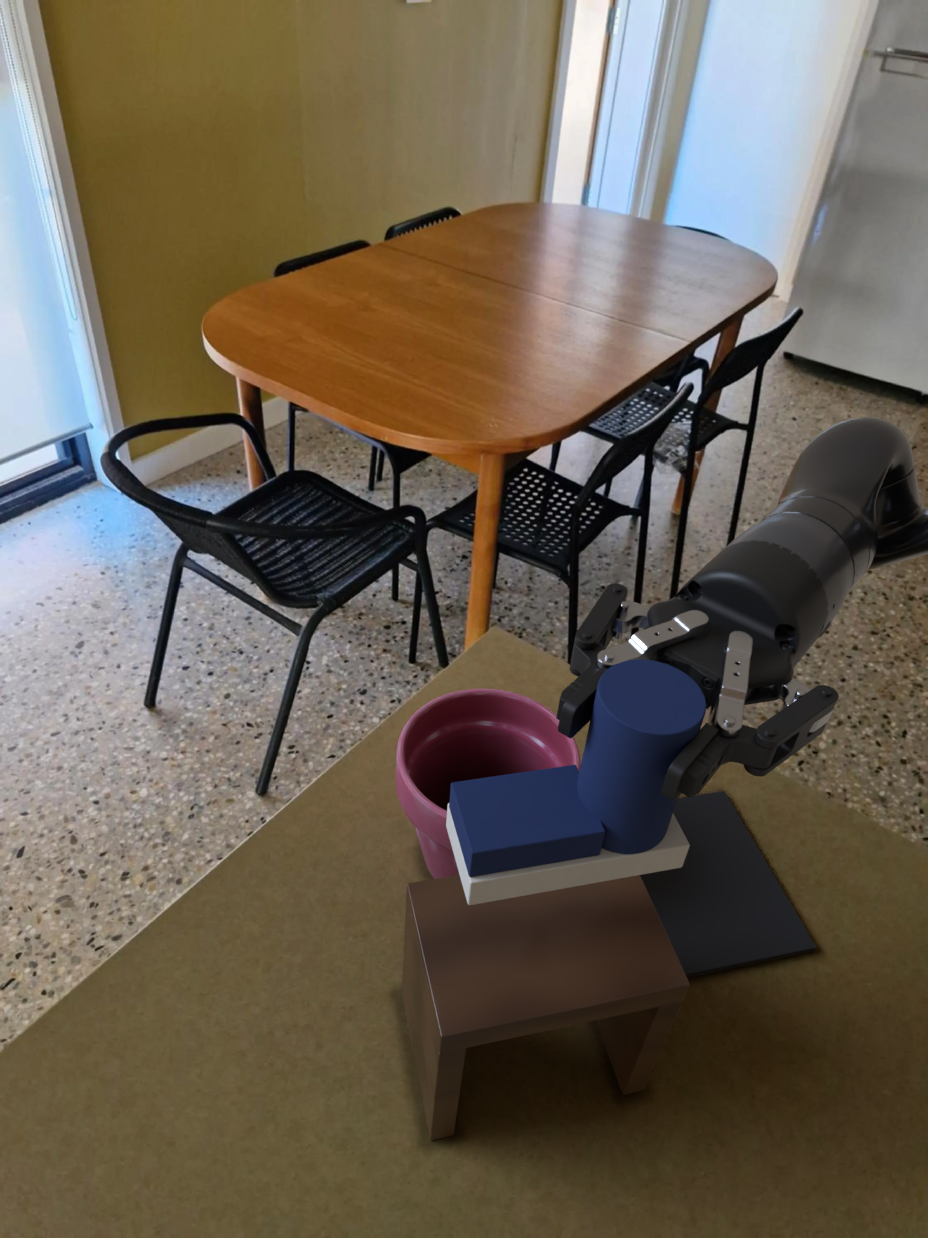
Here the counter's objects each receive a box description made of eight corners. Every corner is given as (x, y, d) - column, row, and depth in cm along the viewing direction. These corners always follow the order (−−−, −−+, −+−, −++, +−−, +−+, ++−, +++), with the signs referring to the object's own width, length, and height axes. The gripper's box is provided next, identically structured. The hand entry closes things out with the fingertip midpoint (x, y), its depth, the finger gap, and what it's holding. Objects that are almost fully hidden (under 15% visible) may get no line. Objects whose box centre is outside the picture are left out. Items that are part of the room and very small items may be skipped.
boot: (645, 794, 52) (686, 652, 45) (682, 868, 48) (733, 725, 41) (445, 825, 49) (456, 680, 42) (467, 906, 45) (484, 760, 38)
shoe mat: (815, 951, 70) (817, 947, 69) (675, 980, 67) (677, 976, 67) (722, 795, 82) (724, 790, 81) (601, 814, 79) (602, 810, 79)
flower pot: (377, 803, 78) (378, 699, 70) (526, 776, 82) (543, 674, 74) (416, 947, 68) (422, 844, 60) (585, 909, 71) (612, 806, 63)
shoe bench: (644, 1090, 61) (690, 985, 52) (429, 1141, 57) (440, 1037, 49) (593, 958, 68) (627, 846, 59) (401, 996, 65) (406, 883, 56)
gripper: (672, 496, 54) (503, 626, 43) (911, 597, 47) (781, 779, 36) (648, 595, 58) (490, 734, 48) (863, 699, 52) (734, 887, 41)
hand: (617, 752), depth 42 cm, fingers closed on boot, 5 cm apart
